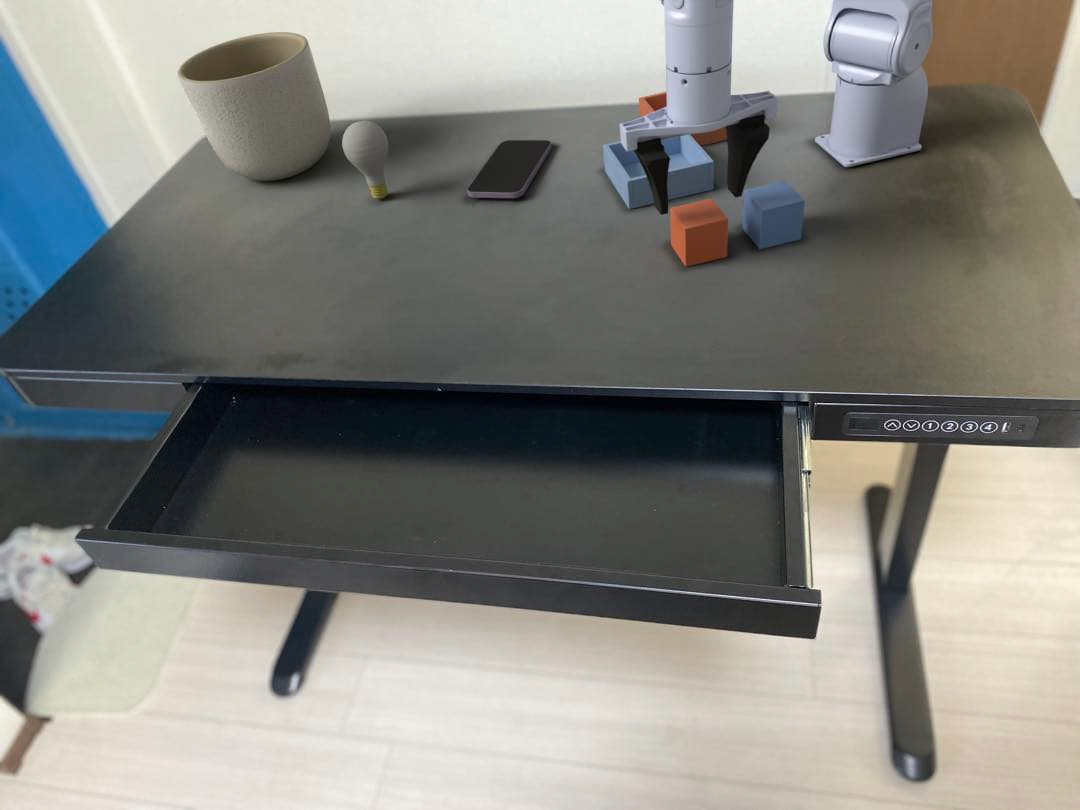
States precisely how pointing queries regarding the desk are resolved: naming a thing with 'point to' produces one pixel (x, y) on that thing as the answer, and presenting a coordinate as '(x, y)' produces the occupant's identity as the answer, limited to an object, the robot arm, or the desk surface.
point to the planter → (260, 104)
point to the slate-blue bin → (685, 171)
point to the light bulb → (368, 153)
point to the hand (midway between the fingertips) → (698, 201)
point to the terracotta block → (699, 232)
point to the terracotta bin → (660, 101)
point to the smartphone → (510, 169)
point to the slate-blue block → (773, 214)
